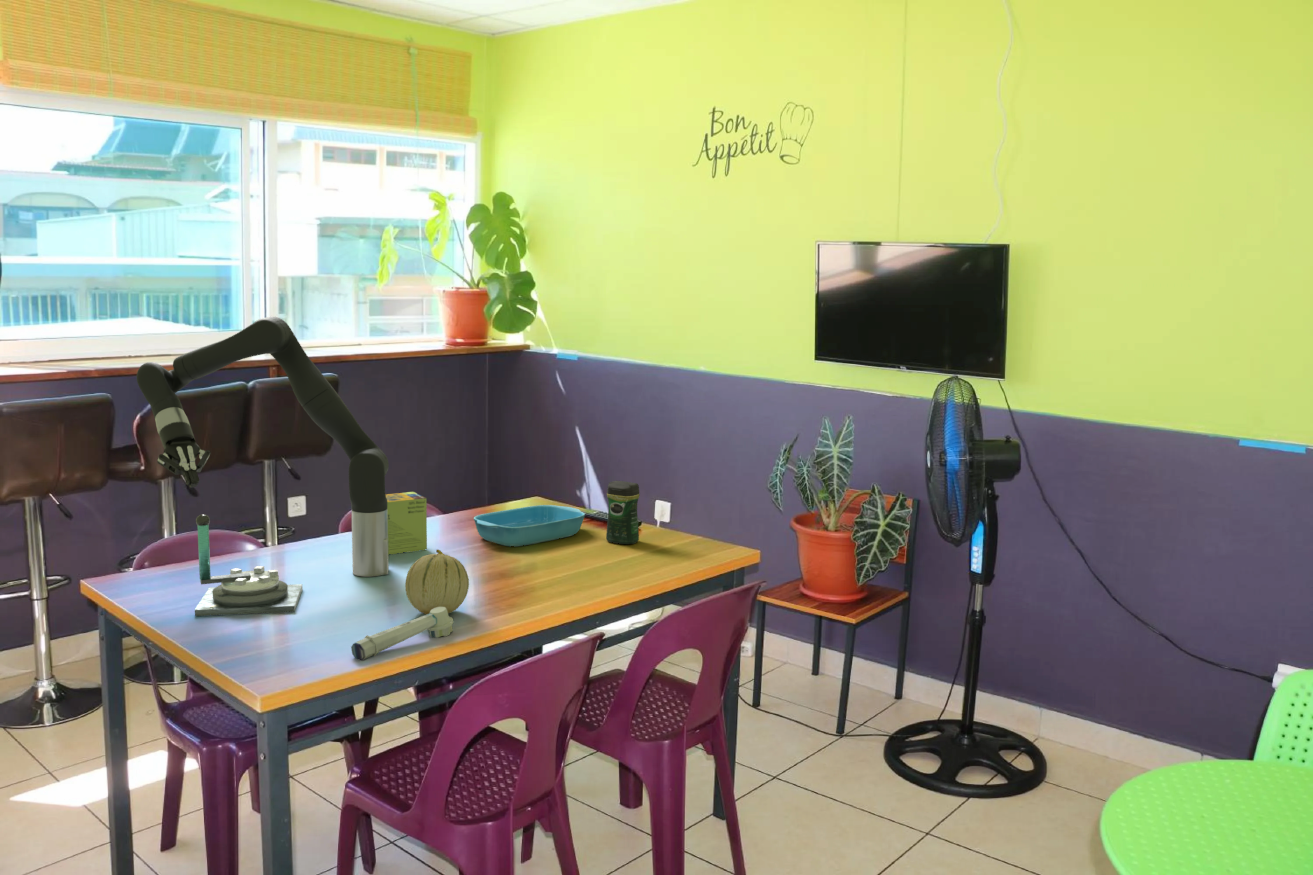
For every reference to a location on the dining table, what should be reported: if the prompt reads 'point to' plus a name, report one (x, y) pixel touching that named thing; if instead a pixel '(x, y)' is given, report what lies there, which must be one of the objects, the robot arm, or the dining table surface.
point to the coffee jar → (622, 512)
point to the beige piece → (404, 633)
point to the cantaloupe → (436, 583)
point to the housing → (249, 601)
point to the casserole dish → (529, 524)
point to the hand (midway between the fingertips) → (194, 485)
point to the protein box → (406, 522)
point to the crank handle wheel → (232, 570)
